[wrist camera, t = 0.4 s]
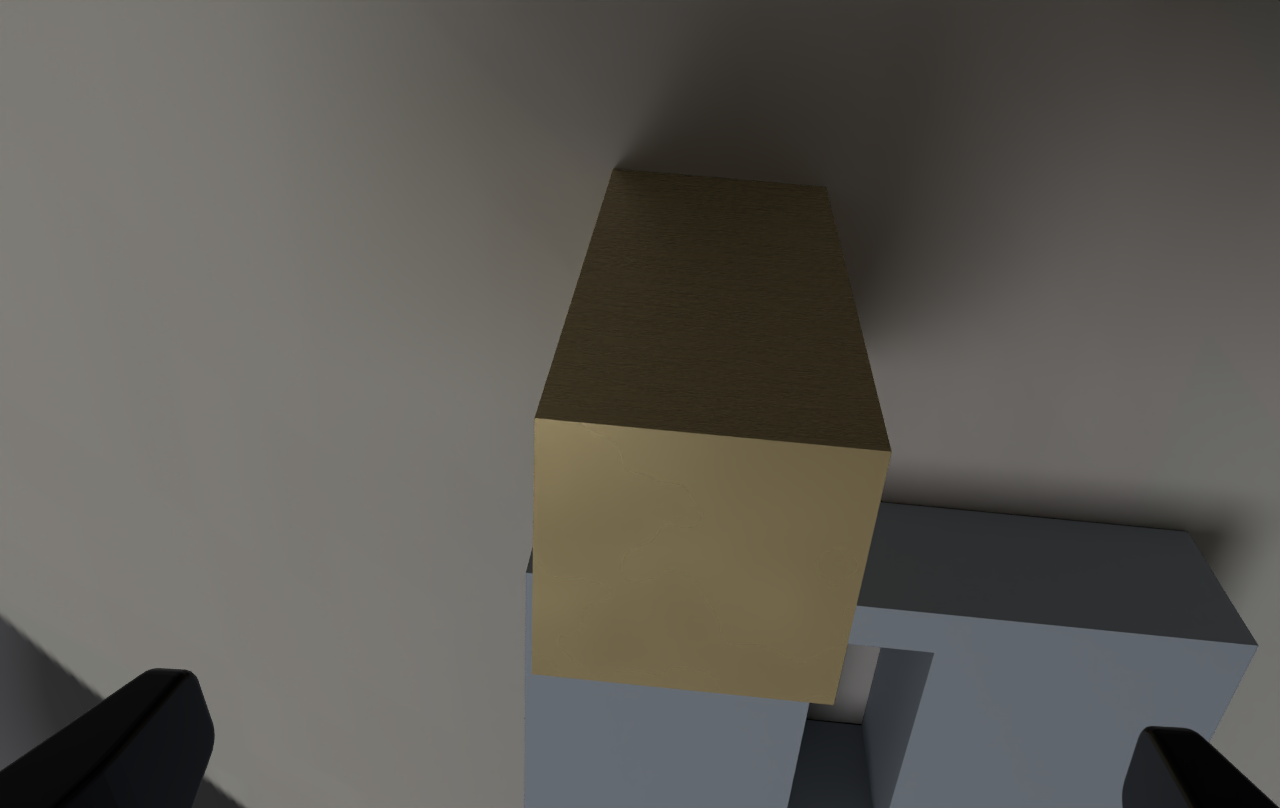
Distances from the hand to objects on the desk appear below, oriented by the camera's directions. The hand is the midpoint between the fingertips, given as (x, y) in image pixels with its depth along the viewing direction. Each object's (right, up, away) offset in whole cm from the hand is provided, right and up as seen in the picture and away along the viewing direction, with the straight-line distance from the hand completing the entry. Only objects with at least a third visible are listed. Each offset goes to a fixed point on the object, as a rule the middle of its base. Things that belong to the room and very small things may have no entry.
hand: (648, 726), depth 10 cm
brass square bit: (+1, +6, +10) cm, 12 cm away
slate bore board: (+4, -6, +17) cm, 18 cm away
